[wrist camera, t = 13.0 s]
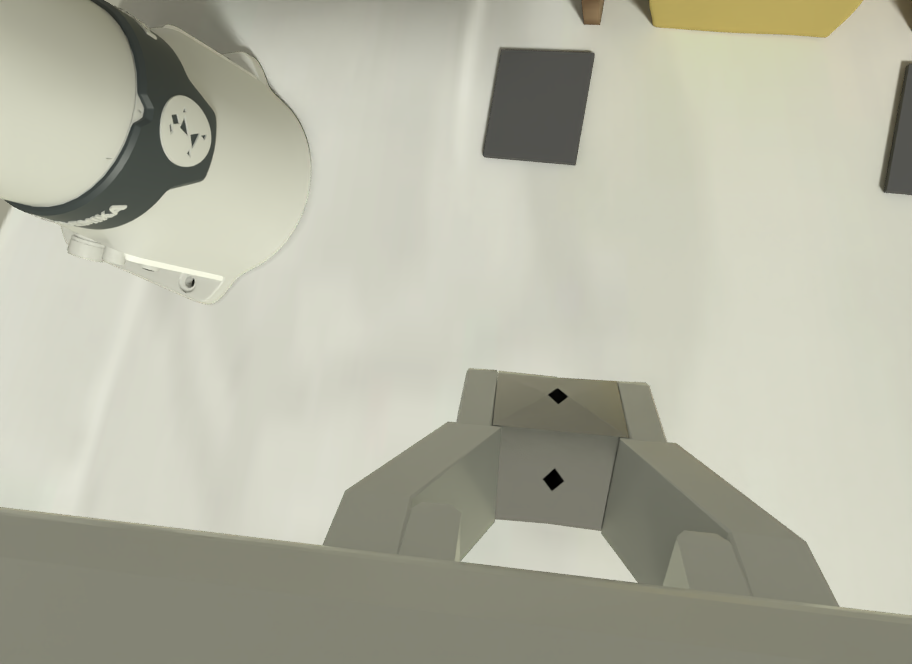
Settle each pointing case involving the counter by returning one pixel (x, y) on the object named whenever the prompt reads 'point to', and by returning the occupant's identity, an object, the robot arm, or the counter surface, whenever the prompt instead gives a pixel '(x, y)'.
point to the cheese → (754, 15)
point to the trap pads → (563, 106)
